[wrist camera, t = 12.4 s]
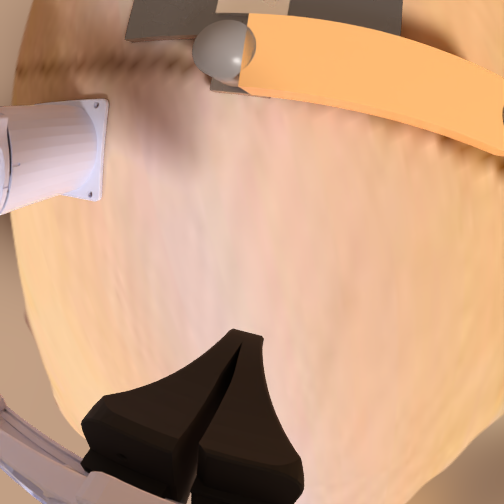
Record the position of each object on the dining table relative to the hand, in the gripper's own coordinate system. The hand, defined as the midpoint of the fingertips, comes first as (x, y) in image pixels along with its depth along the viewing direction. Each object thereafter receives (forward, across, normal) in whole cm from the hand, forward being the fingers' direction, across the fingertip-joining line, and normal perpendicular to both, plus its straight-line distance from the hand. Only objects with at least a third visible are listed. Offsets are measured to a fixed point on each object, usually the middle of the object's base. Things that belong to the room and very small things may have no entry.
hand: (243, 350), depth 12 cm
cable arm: (+7, -4, -13) cm, 15 cm away
